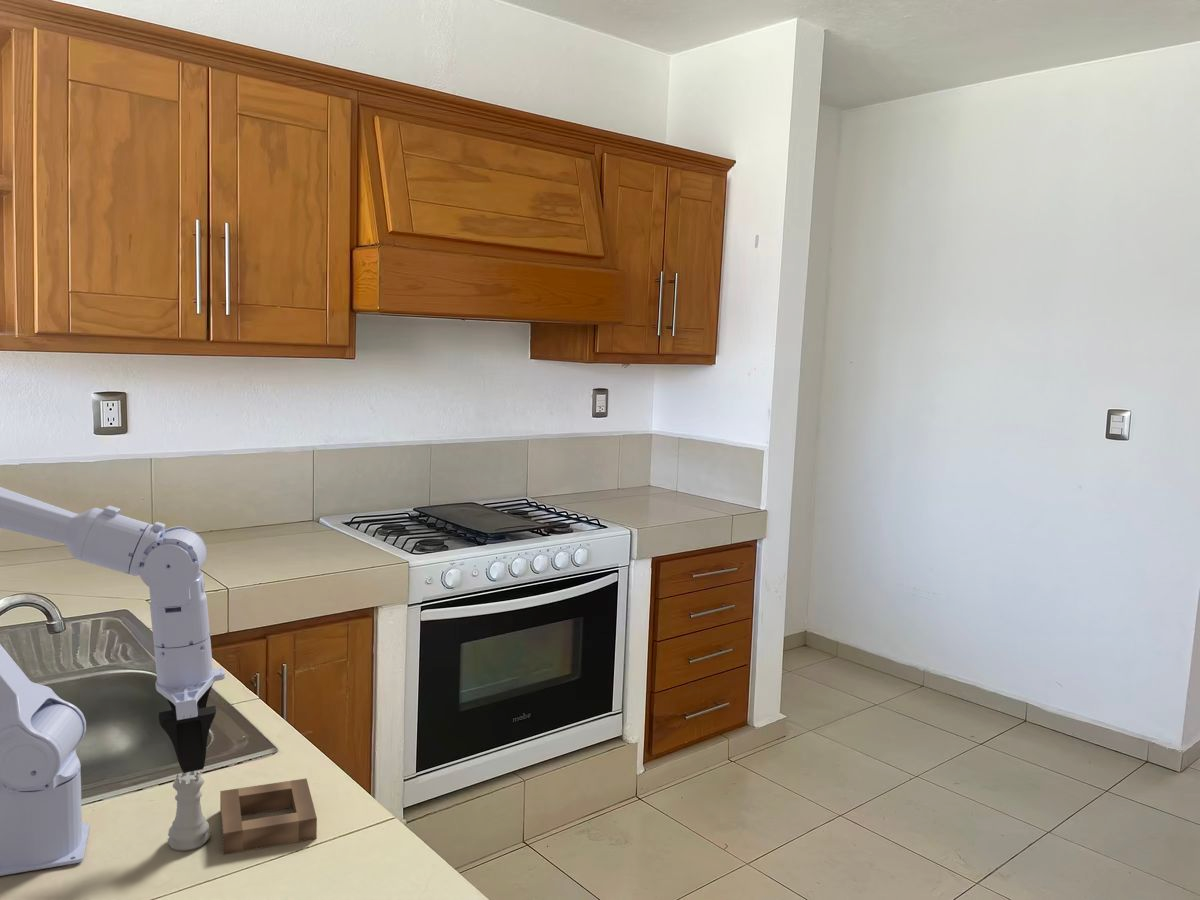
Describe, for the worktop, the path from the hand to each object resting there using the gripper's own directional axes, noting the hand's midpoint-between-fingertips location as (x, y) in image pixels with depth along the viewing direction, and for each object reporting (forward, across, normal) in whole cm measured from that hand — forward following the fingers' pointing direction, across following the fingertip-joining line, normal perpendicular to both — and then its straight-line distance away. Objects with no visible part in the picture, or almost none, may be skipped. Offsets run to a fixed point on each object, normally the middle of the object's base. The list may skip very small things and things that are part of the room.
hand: (193, 755), depth 104 cm
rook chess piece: (+10, 0, +1) cm, 11 cm away
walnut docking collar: (+11, +1, -7) cm, 13 cm away
